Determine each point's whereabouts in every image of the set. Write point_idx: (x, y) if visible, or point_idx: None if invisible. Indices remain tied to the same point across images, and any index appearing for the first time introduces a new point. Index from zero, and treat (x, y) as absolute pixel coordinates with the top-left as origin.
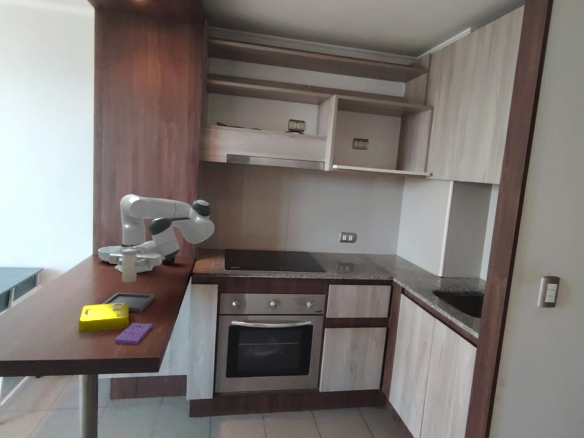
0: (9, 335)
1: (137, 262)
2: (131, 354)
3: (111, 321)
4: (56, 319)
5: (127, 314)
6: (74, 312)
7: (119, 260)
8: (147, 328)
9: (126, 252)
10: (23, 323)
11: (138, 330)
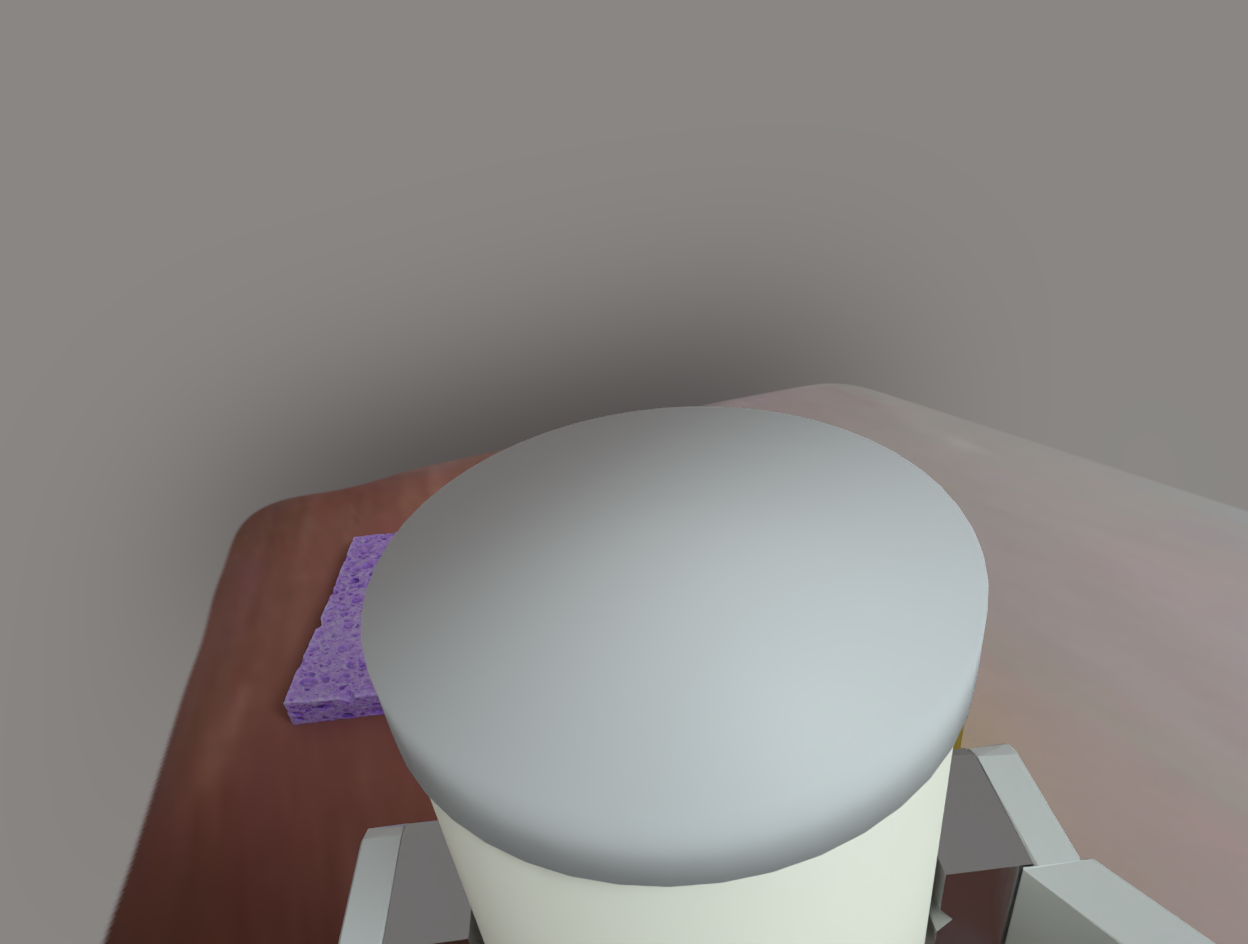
0: (1076, 466)
1: (417, 824)
2: (367, 491)
3: None
4: (1096, 657)
5: None
6: (1136, 809)
7: (1007, 775)
8: (313, 648)
9: (642, 420)
10: (1220, 561)
11: None
